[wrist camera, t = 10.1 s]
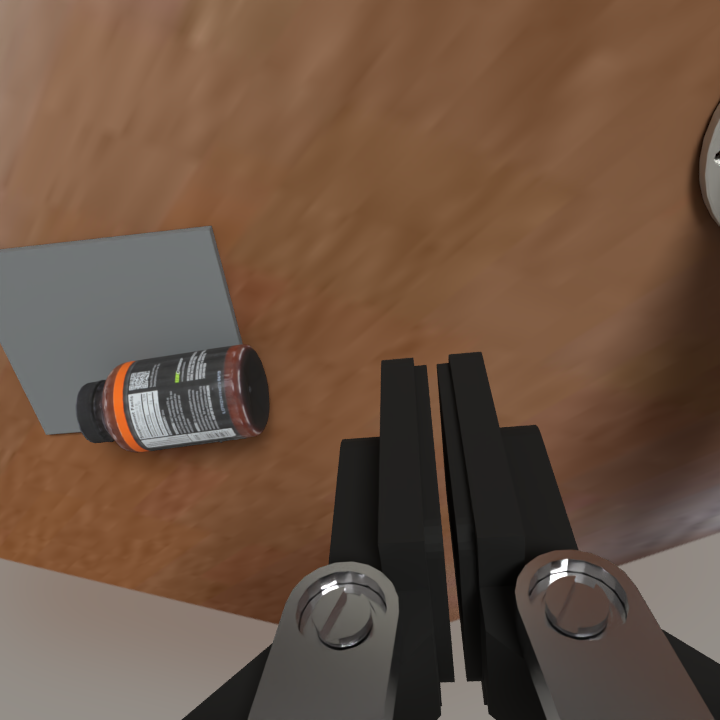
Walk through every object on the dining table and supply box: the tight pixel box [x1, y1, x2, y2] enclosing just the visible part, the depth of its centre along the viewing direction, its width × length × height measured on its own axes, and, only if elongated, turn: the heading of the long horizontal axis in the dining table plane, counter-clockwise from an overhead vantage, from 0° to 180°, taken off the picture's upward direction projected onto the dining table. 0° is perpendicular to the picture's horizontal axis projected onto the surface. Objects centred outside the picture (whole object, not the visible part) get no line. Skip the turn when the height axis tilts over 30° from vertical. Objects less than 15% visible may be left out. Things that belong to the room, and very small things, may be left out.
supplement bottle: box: [75, 344, 269, 452], centre depth 40 cm, size 6×6×11 cm
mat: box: [0, 226, 242, 435], centre depth 42 cm, size 16×14×1 cm
